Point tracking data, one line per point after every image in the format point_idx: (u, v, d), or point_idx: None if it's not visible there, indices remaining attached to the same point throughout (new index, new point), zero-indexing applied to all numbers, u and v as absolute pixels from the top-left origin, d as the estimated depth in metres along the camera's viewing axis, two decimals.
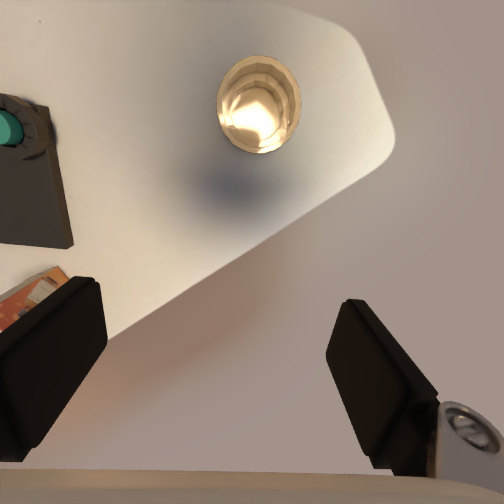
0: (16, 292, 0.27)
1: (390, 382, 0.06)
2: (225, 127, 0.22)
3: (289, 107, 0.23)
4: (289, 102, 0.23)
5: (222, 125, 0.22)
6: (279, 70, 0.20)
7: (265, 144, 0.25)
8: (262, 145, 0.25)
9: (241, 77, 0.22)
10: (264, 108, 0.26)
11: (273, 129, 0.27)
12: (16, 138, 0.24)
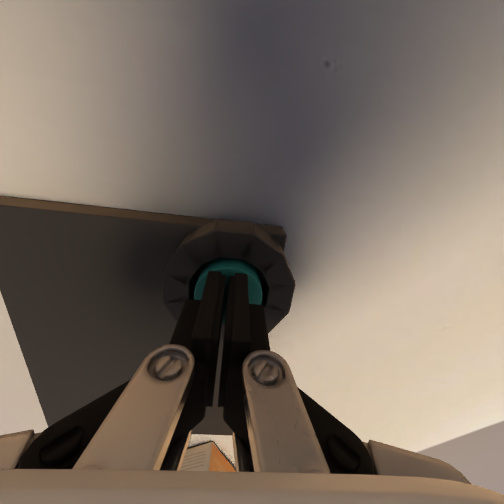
0: None
1: None
2: None
3: None
4: None
5: None
6: None
7: None
8: None
9: None
10: None
11: None
12: None
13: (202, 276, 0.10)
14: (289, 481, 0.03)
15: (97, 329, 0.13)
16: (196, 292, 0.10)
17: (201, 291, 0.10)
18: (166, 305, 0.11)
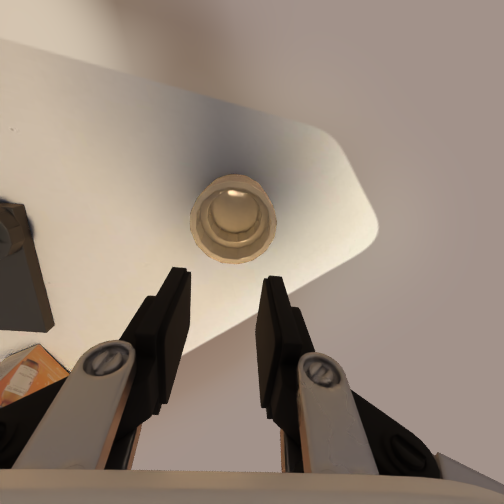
0: None
1: (273, 339, 0.07)
2: (200, 242, 0.21)
3: (267, 213, 0.23)
4: (266, 209, 0.23)
5: (196, 241, 0.21)
6: (252, 193, 0.20)
7: (244, 245, 0.24)
8: (241, 246, 0.24)
9: None
10: (243, 204, 0.25)
11: (253, 222, 0.26)
12: None
13: None
14: (289, 481, 0.03)
15: None
16: None
17: None
18: None
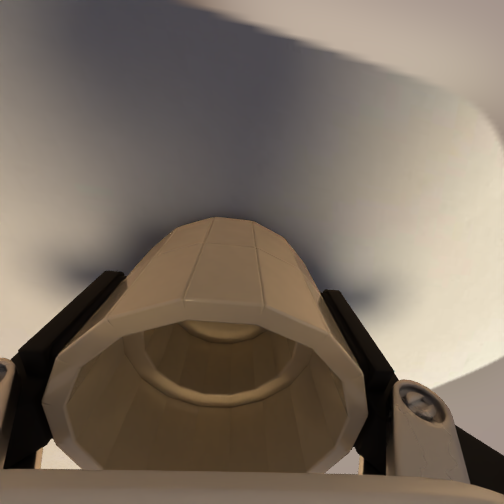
0: None
1: None
2: None
3: None
4: None
5: (87, 469, 0.06)
6: (288, 338, 0.05)
7: (247, 400, 0.09)
8: (239, 402, 0.09)
9: None
10: None
11: None
12: None
13: None
14: (289, 481, 0.03)
15: None
16: None
17: None
18: None
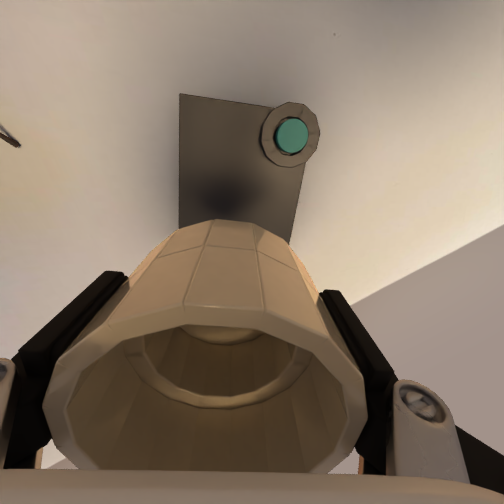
0: None
1: None
2: None
3: None
4: None
5: None
6: (288, 342, 0.05)
7: (247, 402, 0.09)
8: (239, 404, 0.09)
9: None
10: None
11: None
12: None
13: (282, 123, 0.23)
14: (289, 481, 0.03)
15: (219, 168, 0.27)
16: (279, 132, 0.23)
17: (281, 131, 0.23)
18: (262, 142, 0.24)
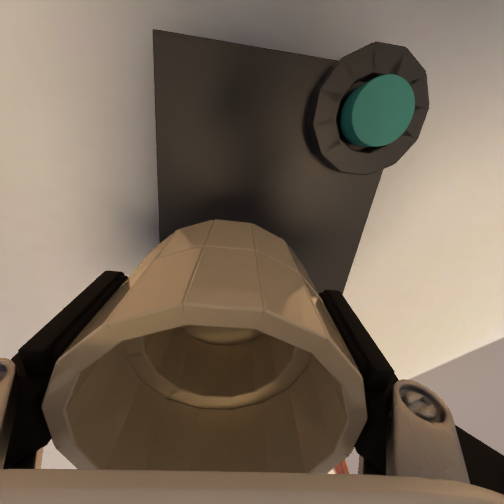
0: None
1: None
2: None
3: None
4: None
5: None
6: (287, 342, 0.05)
7: (247, 403, 0.09)
8: (239, 404, 0.09)
9: None
10: None
11: None
12: None
13: (365, 85, 0.11)
14: (289, 481, 0.03)
15: (230, 176, 0.15)
16: (356, 104, 0.11)
17: (361, 103, 0.11)
18: (315, 127, 0.13)
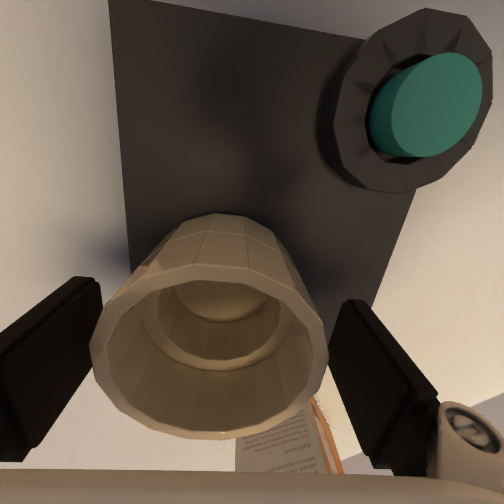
0: None
1: (390, 382, 0.06)
2: (126, 406, 0.08)
3: None
4: None
5: (117, 403, 0.08)
6: (266, 294, 0.07)
7: (241, 365, 0.11)
8: (235, 367, 0.11)
9: None
10: None
11: (260, 303, 0.13)
12: None
13: (412, 69, 0.08)
14: (289, 481, 0.03)
15: (220, 194, 0.11)
16: (399, 96, 0.08)
17: (405, 95, 0.08)
18: (336, 129, 0.09)
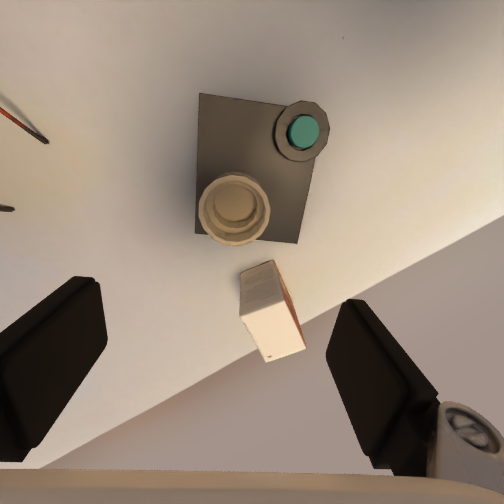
0: (279, 282, 0.29)
1: (390, 382, 0.06)
2: (206, 227, 0.25)
3: (262, 203, 0.27)
4: (262, 200, 0.27)
5: (203, 226, 0.25)
6: (250, 185, 0.24)
7: (243, 231, 0.29)
8: (240, 231, 0.29)
9: None
10: (243, 196, 0.30)
11: (251, 212, 0.30)
12: None
13: (295, 120, 0.25)
14: (289, 481, 0.03)
15: (234, 163, 0.29)
16: (292, 128, 0.25)
17: (294, 128, 0.25)
18: (276, 138, 0.26)
